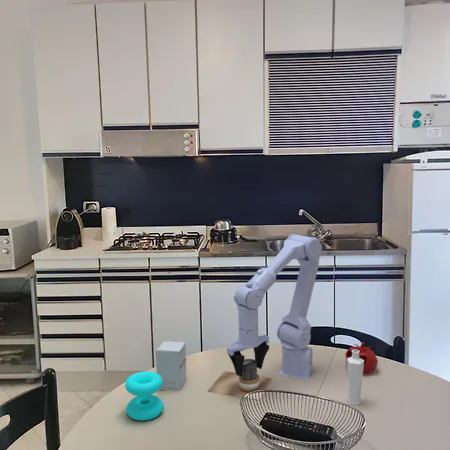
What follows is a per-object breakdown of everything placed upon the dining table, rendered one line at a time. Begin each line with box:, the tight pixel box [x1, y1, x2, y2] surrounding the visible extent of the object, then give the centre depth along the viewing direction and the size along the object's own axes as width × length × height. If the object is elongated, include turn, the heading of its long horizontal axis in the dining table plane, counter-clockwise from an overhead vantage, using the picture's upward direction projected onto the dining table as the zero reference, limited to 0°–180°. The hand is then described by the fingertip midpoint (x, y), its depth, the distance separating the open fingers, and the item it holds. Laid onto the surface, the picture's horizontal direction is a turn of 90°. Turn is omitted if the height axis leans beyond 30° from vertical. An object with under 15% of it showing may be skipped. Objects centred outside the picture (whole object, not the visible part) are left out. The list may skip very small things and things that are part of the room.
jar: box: [239, 373, 260, 393], centre depth 138 cm, size 6×6×5 cm
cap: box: [240, 358, 258, 381], centre depth 138 cm, size 5×5×5 cm
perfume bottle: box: [346, 349, 364, 406], centre depth 130 cm, size 5×4×15 cm
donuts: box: [124, 371, 164, 421], centre depth 127 cm, size 10×10×10 cm
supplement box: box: [155, 340, 187, 391], centre depth 141 cm, size 7×7×13 cm
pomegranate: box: [344, 341, 379, 375], centre depth 149 cm, size 10×10×9 cm
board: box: [207, 370, 273, 399], centre depth 140 cm, size 16×14×1 cm
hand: (249, 371), depth 138 cm, fingers open, 7 cm apart
